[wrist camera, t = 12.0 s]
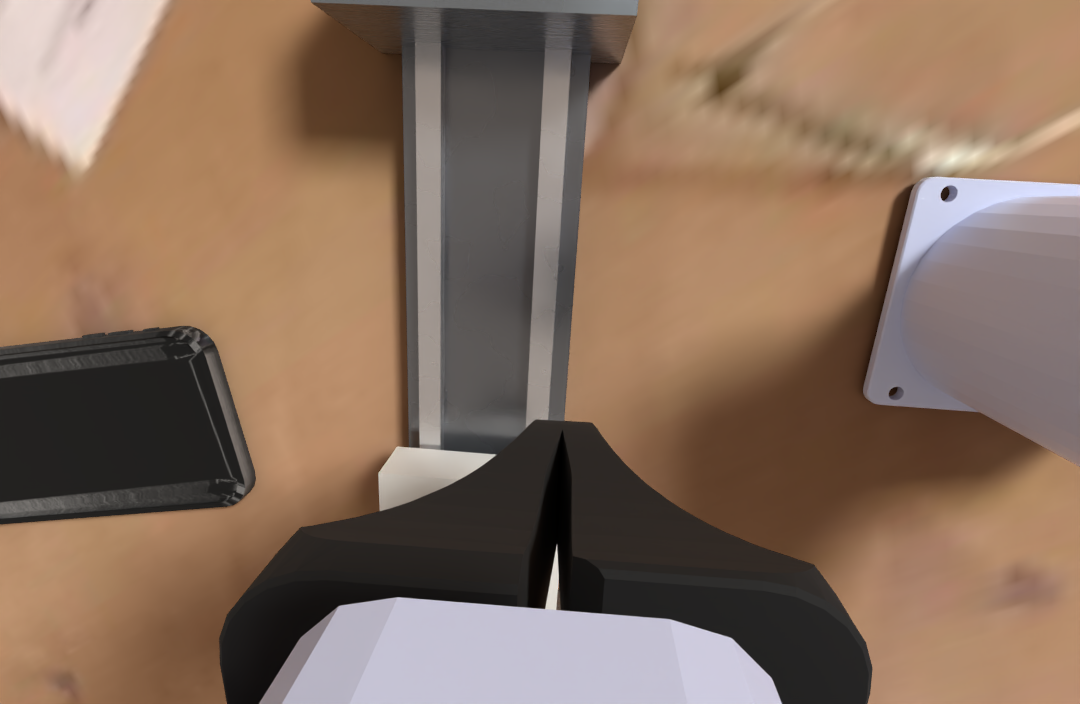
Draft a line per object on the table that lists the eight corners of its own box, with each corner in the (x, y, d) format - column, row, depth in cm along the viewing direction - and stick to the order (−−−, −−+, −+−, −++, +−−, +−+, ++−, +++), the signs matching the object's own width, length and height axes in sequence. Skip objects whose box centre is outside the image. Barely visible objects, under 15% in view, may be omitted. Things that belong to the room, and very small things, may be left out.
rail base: (630, -43, 17) (657, -167, 11) (564, 700, 25) (560, 848, 20) (379, -52, 17) (278, -176, 11) (399, 683, 26) (348, 823, 20)
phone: (251, 504, 23) (-60, 529, 24) (266, 490, 24) (-33, 514, 25) (195, 324, 20) (-143, 363, 22) (214, 318, 22) (-110, 355, 23)
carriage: (566, 460, 20) (562, 569, 14) (558, 572, 21) (551, 713, 16) (397, 446, 20) (325, 547, 14) (400, 558, 22) (335, 690, 16)
